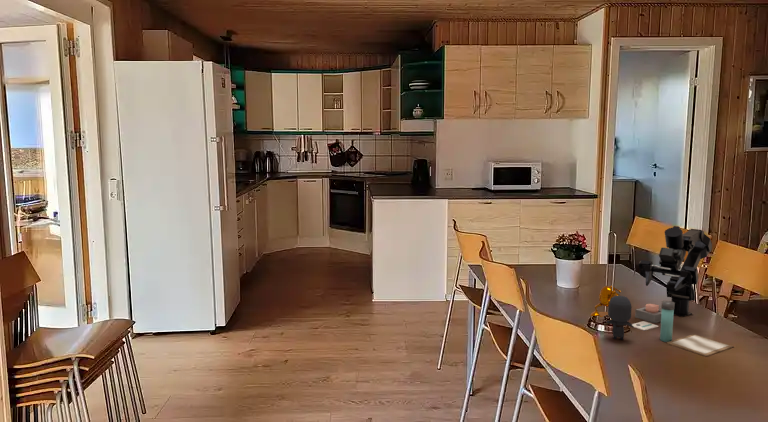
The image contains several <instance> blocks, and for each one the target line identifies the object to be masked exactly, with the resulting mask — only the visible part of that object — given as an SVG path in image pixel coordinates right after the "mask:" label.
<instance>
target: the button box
mask: <svg viewBox="0 0 768 422" xmlns="http://www.w3.org/2000/svg"><path fill="white" fill-rule="evenodd" d="M645 308H646V306H644V307H641V308H636V309H635V312H634V313H635V314H634V318H636V319H639V320H642V321H645V322H648V323H651V324H657V323H661V312H662V308H659V312H658V313H650V312H647V311H645Z"/></svg>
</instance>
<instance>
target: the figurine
mask: <svg viewBox="0 0 768 422" xmlns="http://www.w3.org/2000/svg"><path fill="white" fill-rule="evenodd" d="M612 286H613V285H609V286H608V285H605V286H603V287H602V288H601V289H600V292H599V295H598V299H599V300H598V301H599V303H597V304H596V305H594V309H595V310H594V311H593V312H590V315H589V317H591V316H600V317H603V316H605V315H608V311H599V310H598V307H602V306H604V307H607V308H609V302H610V300H611V298H612V297H614V296H619V295H621V294H619V293H622V291H621V290H620V289H618V288H615V287H614V286H613V291H612ZM617 292H618V293H617ZM621 296H623V295H621Z"/></svg>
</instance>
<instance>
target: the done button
mask: <svg viewBox="0 0 768 422" xmlns="http://www.w3.org/2000/svg"><path fill="white" fill-rule="evenodd" d="M645 307H646V308H645V311H647V312H650V313H658V312H659V309H660V305H659V304H656V303H646V304H645Z"/></svg>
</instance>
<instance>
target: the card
mask: <svg viewBox="0 0 768 422" xmlns="http://www.w3.org/2000/svg"><path fill="white" fill-rule="evenodd" d="M631 324H632V326H634V327H633V328H635V329H638V330H641V331H644V332H645V331H647V330H652V329H655V328H658V327H659V325H657V324H655V323H652V322H649V321H645V320H642V321H639V322H636V323H635V322H634V323H631Z"/></svg>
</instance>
